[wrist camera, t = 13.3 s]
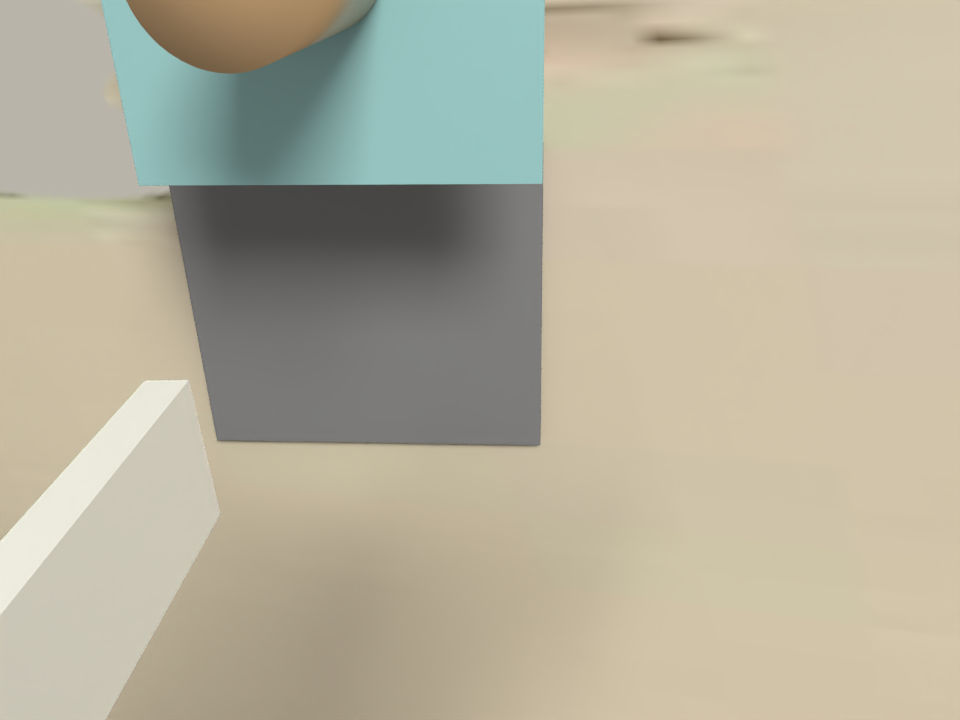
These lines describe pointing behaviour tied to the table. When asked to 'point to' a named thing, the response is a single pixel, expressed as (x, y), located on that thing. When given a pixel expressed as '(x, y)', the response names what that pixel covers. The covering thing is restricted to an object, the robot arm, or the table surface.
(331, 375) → the mat
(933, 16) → the table surface
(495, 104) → the cover board
